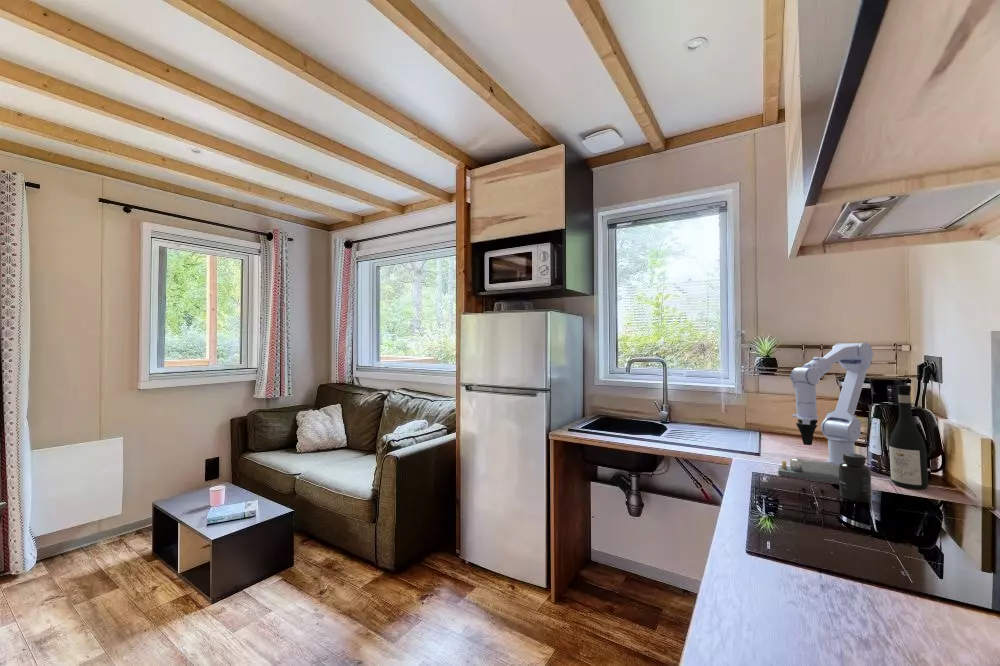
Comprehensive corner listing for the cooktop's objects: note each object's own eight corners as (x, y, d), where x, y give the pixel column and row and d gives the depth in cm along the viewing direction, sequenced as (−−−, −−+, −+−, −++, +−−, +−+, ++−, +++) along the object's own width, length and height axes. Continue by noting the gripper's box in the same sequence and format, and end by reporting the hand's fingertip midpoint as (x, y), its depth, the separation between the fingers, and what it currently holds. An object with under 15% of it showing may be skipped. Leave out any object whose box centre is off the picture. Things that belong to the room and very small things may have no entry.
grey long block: (790, 467, 142) (790, 457, 143) (851, 475, 133) (850, 463, 133) (789, 471, 139) (789, 460, 139) (851, 479, 129) (851, 467, 129)
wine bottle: (919, 491, 121) (912, 386, 123) (885, 483, 129) (879, 385, 130) (934, 487, 124) (928, 385, 126) (900, 480, 132) (895, 383, 133)
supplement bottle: (834, 496, 119) (832, 453, 120) (848, 492, 122) (846, 450, 122) (864, 504, 113) (861, 459, 113) (877, 500, 116) (875, 456, 116)
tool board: (780, 470, 145) (779, 458, 145) (864, 481, 132) (863, 468, 132) (778, 475, 140) (777, 462, 140) (866, 487, 126) (865, 473, 126)
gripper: (793, 399, 153) (795, 437, 152) (790, 404, 141) (792, 445, 141) (817, 400, 149) (819, 439, 148) (816, 405, 137) (819, 447, 137)
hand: (808, 442), depth 144 cm, fingers open, 7 cm apart
